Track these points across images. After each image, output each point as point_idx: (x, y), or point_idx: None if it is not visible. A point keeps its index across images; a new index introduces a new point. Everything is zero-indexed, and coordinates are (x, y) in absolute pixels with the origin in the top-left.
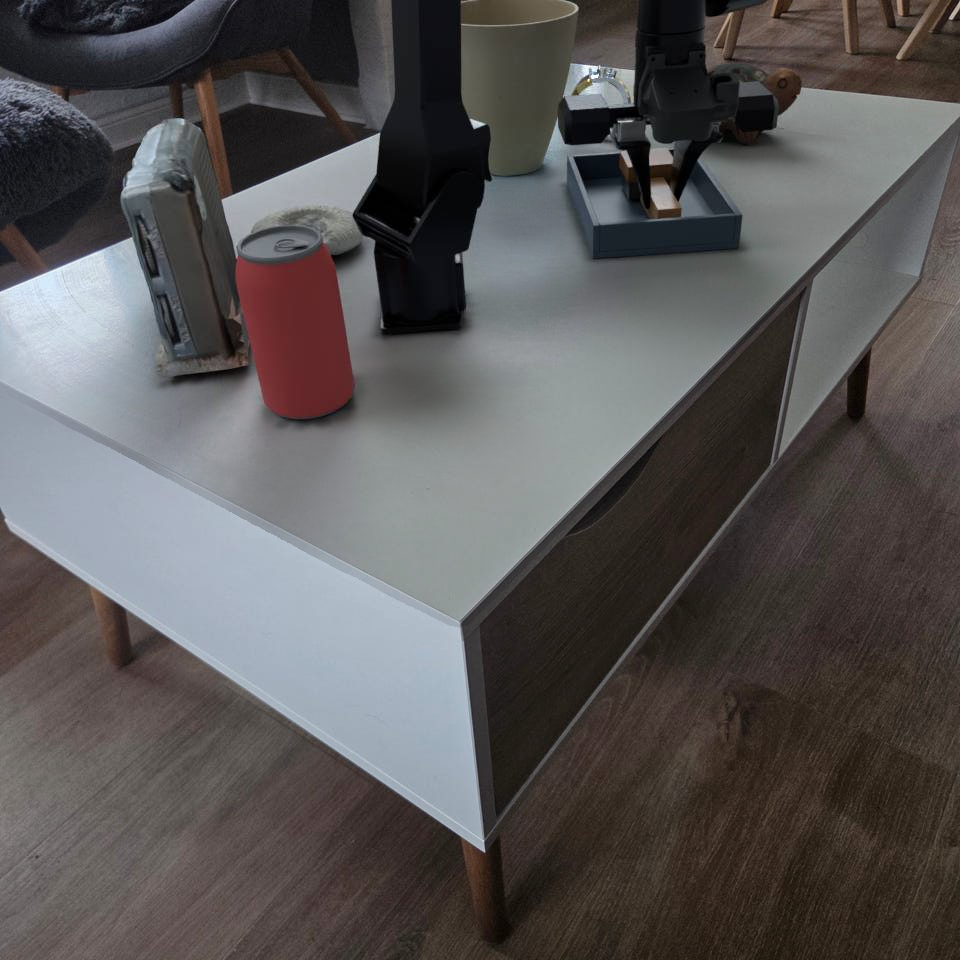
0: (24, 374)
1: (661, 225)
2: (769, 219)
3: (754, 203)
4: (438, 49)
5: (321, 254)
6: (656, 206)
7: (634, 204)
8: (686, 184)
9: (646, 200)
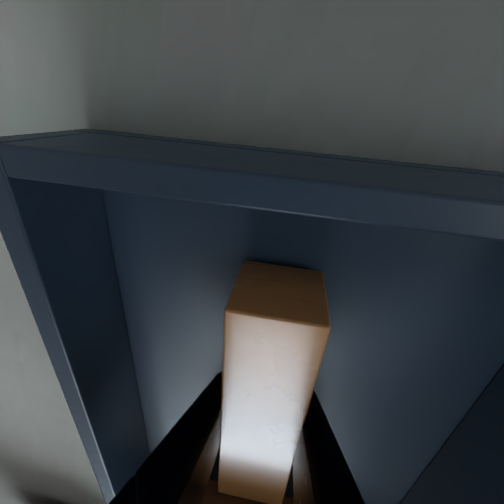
0: None
1: (381, 182)
2: (13, 284)
3: (47, 359)
4: None
5: None
6: (321, 355)
7: None
8: None
9: (318, 414)
